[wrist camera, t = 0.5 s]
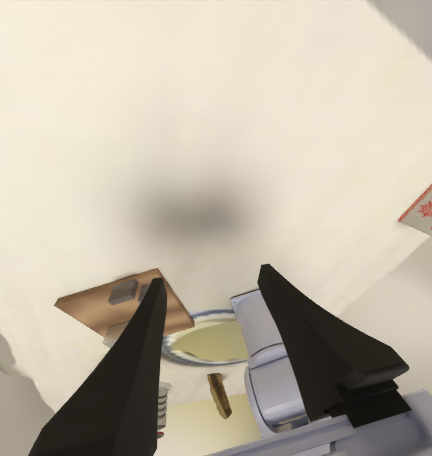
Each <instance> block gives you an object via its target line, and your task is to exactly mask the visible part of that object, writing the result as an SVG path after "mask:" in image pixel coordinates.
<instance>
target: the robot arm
mask: <svg viewBox="0 0 432 456" xmlns="http://www.w3.org/2000/svg"><path fill="white" fill-rule="evenodd" d="M257 283H258V286H259V289H260V290H256V291H253V292H250V293H247V294H244V295H240V296H237V297H234V298H231V304H232V306H233V309H234V312H235V315H236V318H237V321H238V322H239V323H240V326H241V330H242V333H243V337H244V340H245V344H246V347H247V351H248V354H249V359H247V361H248V365H249V366H247V367H246V369H245V373H244V381H245V388H246V392H247V396H248V400H249V403H250V407H251V409H252V412H253V415H254V417H255V419H256V421H257V424H258V427H259V430H260V433H261V436H262V439H260V440H257V441H253V442H250V443H247V444H243V445H240V446H236V447H233V448H230V449H226V450H223V451H219V452H216V453H213V454H209V455H206V456H432V396H431V394H430V393H429V392H428V391H427V390H425V389H422V390H419V391H416V392H412V393H409V394H406V395H403V396H401V395H400V394H399V393H398V392H397V390H396V389H398V386H397V384H396V383H395V382H394V381H393V379H394V378H396V377H398V376H400V375H401V374H403V373H405V372H406V371H408V370H409V366H408V365H407V364H406V363H405V361H404V360H403V359H402V358H401V357H400V356H399V355H398V354H397V353H396V352H395V351H394V350H393V349H392V348H391V347H390V346H388V345H386V344H384V343H382V342H380V341H378V340H376V339H374V338H372V337H370V336H368V335H366V334H365V333H363V332H361V331H359V330H357V329H356V328H354V327H352V326H350V325H348V324H347V323H345V322H343V321H342V320H340V319H339V318H337V317H335V316H334V315H332V314H331V313H329V312H328V311H326V310H325V309H323V308H322V307H320V306H319V305H317V304H316V303H315V302H313V301H312V300H311V299H309V298H308V297H307V296H305V295H304V294H303V293H302V292H300V291H299V290H298V289H297V288H295V287H294V286H293V285H292V284H291V283H290V282H289V281H287V280H286V279H285V278H284V277H283V276H282V275H281V274H280V273H279V272H277V271H276V270H275V269H274V268H273V267H272V266H271V265H270V264H264V265H261V269H260V273H259V278H258V282H257ZM166 313H167V292H166V288H165V284H164V280H163V277H160V278H153V279H152V281H151V283H150V285H149V287H148V290H147V292H146V293H145V295H144V297H143V299H142V301H141V303H140V304H139V306H138V308H137V310H136V312H135V313H134V315H133V316H132V318H131V320H130V321H129V323H128V324H127V326H126V328H125V329H124V331H123V332H122V333H121V335H120V336H119V338H118V339H117V341H116V342H115V343H114V345H113V346H112V347H111V349H110V350H109V351H108V353H107V354H106V355H105V357H104V358H103V359H102V361H101V362H100V363H99V364H98V366H97V367H96V368H95V369H94V371H93V372H92V373H91V374H90V375H89V376H88V378H87V379H86V380H85V381H84V382H83V384H82V385H81V386H80V387H79V388H78V390H77V391H76V392H75V393H74V394H73V395H72V396H71V398H70V399H69V400H68V401H67V402H66V403H65V404H64V405H63V406H62V407H61V408H60V410H59V411H58V412H57V413H56V414H55V415H54V416H53V418H51V419H50V421H49V422H48V423H47V424H46V425H45V426H44V427H43V428H42V430H41V432H40V434H39V436H38V438H37V440H36V441H35V443H34V445H33V447H32V449H31V451H30V453H29V455H28V456H153V455H154V453H155V451H156V449H157V426H158V397H159V376H160V359H161V348H162V341H163V334H164V327H165V320H166ZM306 413H307V416H304V417H302V418H298V419H296V420H292V421H290V422H286V423H284V424H282V423H281V424H279V422H282V421H285V420H288V419H291V418H294V417H297V416H300V415H303V414H306Z"/></svg>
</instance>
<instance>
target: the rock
mask: <svg viewBox="0 0 432 456" xmlns="http://www.w3.org/2000/svg"><path fill="white" fill-rule="evenodd" d="M207 376H208V380H209V384H210V391H211V394H212V396H213V398H214V401H215V403H216V405H217V409H218V411H219V414H220V415H221V416H222V417H223V418H224V419H227V418H228V417H229V416H230V415H231V413H232V410H231V407H230V405H229V401H228V399H227V395H226V392H225V389H224V386H223V383H222V379H221V376H220V374H208V375H207Z"/></svg>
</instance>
